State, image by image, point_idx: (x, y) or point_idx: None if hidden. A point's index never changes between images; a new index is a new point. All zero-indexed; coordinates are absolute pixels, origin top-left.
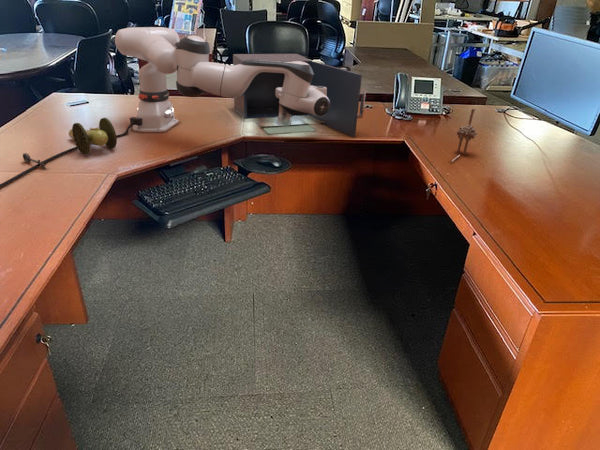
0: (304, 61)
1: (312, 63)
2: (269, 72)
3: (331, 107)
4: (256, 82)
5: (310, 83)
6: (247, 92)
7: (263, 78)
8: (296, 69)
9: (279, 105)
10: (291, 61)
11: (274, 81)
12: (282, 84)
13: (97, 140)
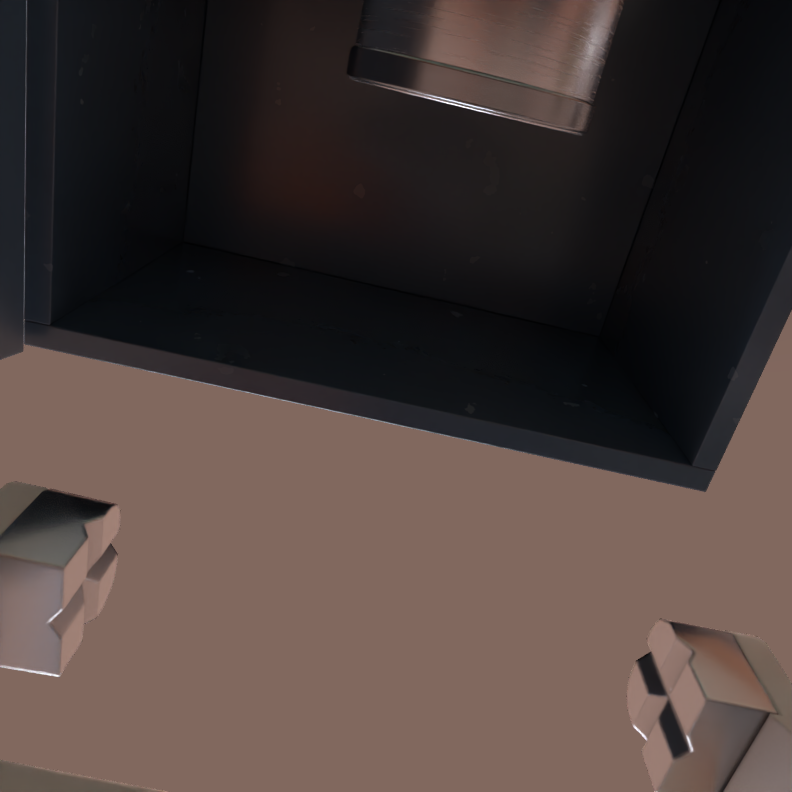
0: (109, 358)
1: (16, 337)
2: (395, 180)
3: None
4: (511, 131)
5: (32, 108)
6: (605, 69)
7: (450, 147)
8: None
9: (621, 7)
10: (247, 389)
11: (369, 100)
12: (307, 57)
13: None
